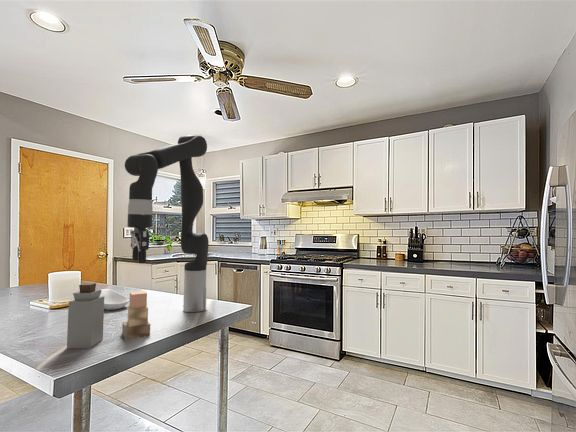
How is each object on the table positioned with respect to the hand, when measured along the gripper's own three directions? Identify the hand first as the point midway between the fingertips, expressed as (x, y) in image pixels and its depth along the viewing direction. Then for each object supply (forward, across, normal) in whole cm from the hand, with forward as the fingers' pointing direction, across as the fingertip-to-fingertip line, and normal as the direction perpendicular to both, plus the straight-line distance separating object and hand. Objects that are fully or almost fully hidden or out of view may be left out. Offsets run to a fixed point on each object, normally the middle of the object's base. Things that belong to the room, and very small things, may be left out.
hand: (138, 261), depth 104 cm
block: (+15, +1, 0) cm, 15 cm away
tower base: (+24, +1, 0) cm, 24 cm away
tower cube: (+20, +1, 0) cm, 20 cm away
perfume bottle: (+24, 0, -14) cm, 28 cm away
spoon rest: (+25, -47, -2) cm, 53 cm away
